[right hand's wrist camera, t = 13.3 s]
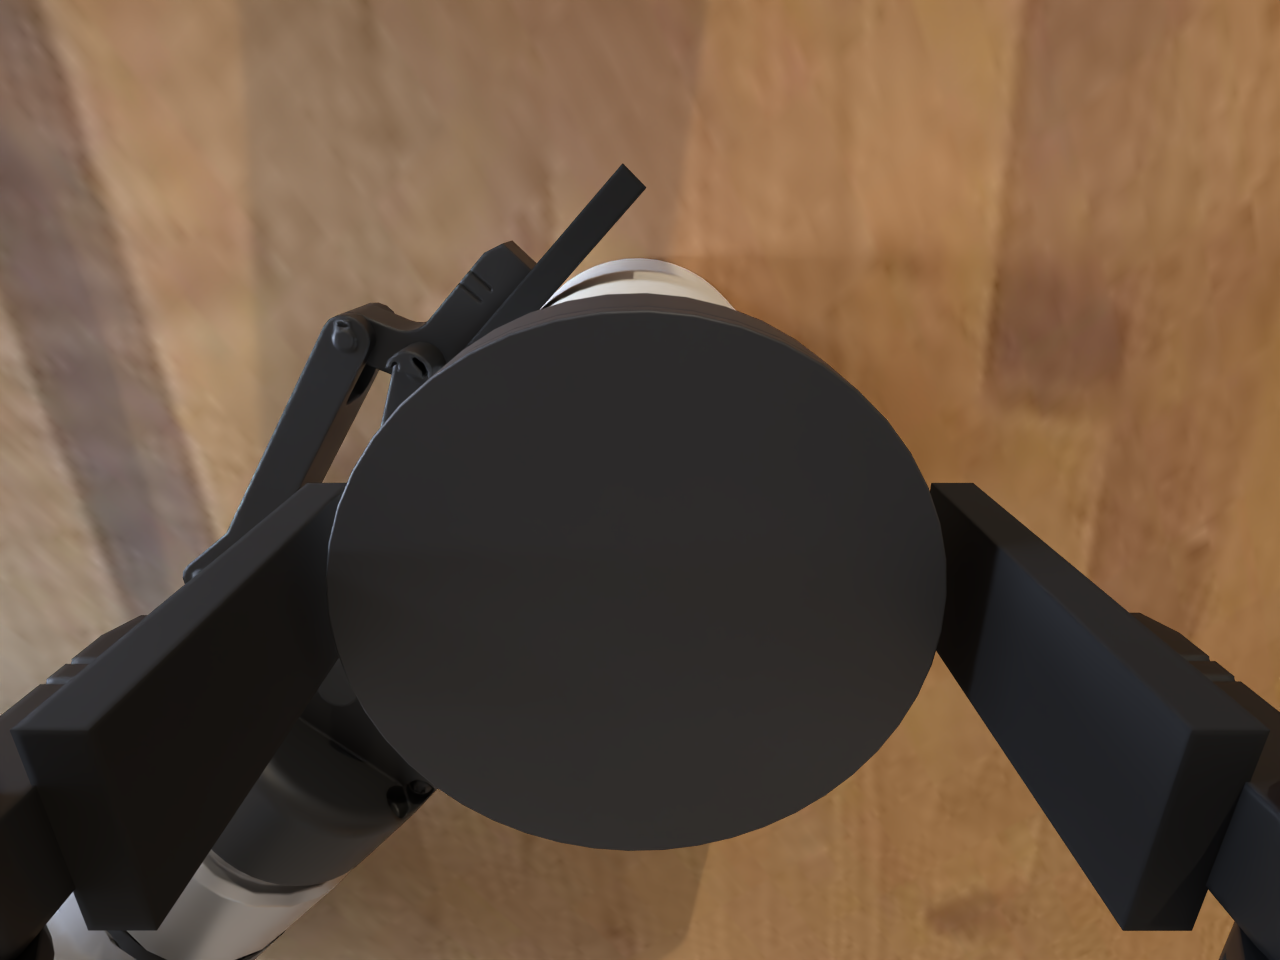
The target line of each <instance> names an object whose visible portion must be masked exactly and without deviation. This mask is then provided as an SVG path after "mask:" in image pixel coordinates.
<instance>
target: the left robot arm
mask: <svg viewBox="0 0 1280 960" xmlns="http://www.w3.org/2000/svg"><path fill="white" fill-rule="evenodd" d="M645 189H646V187H645V186H644V185H643V184H642V183H641V182H640V181H639V180H638V178H637V177H636V176H635V175H634V174H633V173H632V172H631V171H630V170H629V169H628V168H627V167H626V166H625V165H624V164H622V165H621V166H620V167H619V168H618V169H617V171H616V172H615V173H614V174H613V175H612V176H611V178H610V179H609V180H608V181H607V182H606V183H605V185H604V186H603V187H602V188H601V189H600V190H599V192H598V193H597V194H596V195H595V196H594V197H593V199H592V200H591V201H590V202H589V203H588V204H587V206H586V207H585V208H584V209H583V210H582V211H581V213H580V214H579V215H578V216H577V217H576V218H575V220H574V221H573V222H572V223H571V224H570V226H569V227H568V228H567V229H566V230H565V231H564V233H563V234H562V235H561V236H560V237H559V238H558V240H557V241H556V242H555V243H554V244H553V245H552V247H551V248H550V249H549V250H548V251H547V252H546V254H545V255H544V256H543V257H542V258H541V259H540V261H539V262H538V263H536V262H535V261H533V260H532V259H531V258H530V257H529V256H528V255H527V254H526V253H525V252H524V251H523V250H522V249H521V248H520V247H519V246H517V245H516V244H515V243H514V242H513V241H509V242H506V243H503V244H501V245H499V246H497V247H495V248H493V249H491V250H489V251H487V252H485V253H484V254H483V255H482V256H481V257H480V259H479V260H478V261H477V262H476V263H475V265H474V266H473V267H472V268H471V270H470V271H469V272H468V273H467V274H466V275H465V277H464V278H463V279H462V280H461V282H460V283H459V284H458V285H457V286H456V288H455V289H454V290H453V291H452V292H451V294H450V295H449V296H448V297H447V298H446V300H445V301H444V302H443V303H442V304H441V306H440V307H439V308H438V309H437V311H436V312H435V313H434V314H433V315H432V317H431V318H430V319H429V320H428V321H427V322H415V321H411V320H409V319H406V318H404V317H401V316H399V315H396V314H395V313H394V312H393V311H392V310H391V309H390V308H389V307H388V306H386V305H383V304H381V303H369V304H366V305H364V306H361V307H358V308H356V309H353V310H350V311H348V312H345V313H342V314H340V315H337V316H335V317H333V318H331V319H329V320H328V321H327V323H326V324H325V325H324V327H323V329H322V331H321V333H320V335H319V337H318V339H317V342H316V344H315V346H314V348H313V350H312V352H311V354H310V356H309V359H308V361H307V363H306V365H305V367H304V369H303V371H302V373H301V376H300V378H299V380H298V382H297V384H296V386H295V388H294V390H293V393H292V395H291V397H290V399H289V401H288V403H287V405H286V407H285V410H284V412H283V414H282V416H281V418H280V420H279V422H278V424H277V427H276V429H275V431H274V433H273V435H272V437H271V439H270V442H269V444H268V446H267V448H266V450H265V452H264V454H263V456H262V459H261V461H260V463H259V465H258V467H257V469H256V471H255V473H254V476H253V478H252V480H251V482H250V484H249V486H248V488H247V490H246V493H245V495H244V497H243V499H242V501H241V503H240V505H239V507H238V510H237V512H236V514H235V516H234V518H233V520H232V522H231V524H230V527H229V529H228V531H227V533H226V534H225V535H224V536H223V537H221V538H220V539H219V540H218V541H217V542H215V543H214V544H213V545H212V546H211V547H209V548H208V549H207V550H206V551H205V552H203V553H202V554H201V555H200V556H199V557H197V558H196V559H195V560H194V561H193V562H191V563H190V564H189V565H188V566H187V567H186V569H185V570H184V572H183V580H184V583H185V584H186V583H187V582H188V581H190V580H191V579H192V578H193V577H194V576H196V575H197V574H198V573H199V572H201V571H202V570H203V569H204V568H205V567H207V566H208V565H209V564H210V563H211V562H213V561H214V560H215V559H216V558H217V557H219V556H220V555H221V554H222V553H223V552H225V551H226V550H227V549H228V548H229V547H231V546H232V545H233V544H234V543H235V542H237V541H238V540H239V539H240V538H241V537H243V536H244V535H245V534H246V533H247V532H249V531H250V530H251V529H252V528H253V527H255V526H256V525H257V524H258V523H259V522H261V521H262V520H263V519H264V518H265V517H267V516H268V515H269V514H270V513H272V512H273V511H274V510H275V509H276V508H278V507H279V506H280V505H281V504H282V503H284V502H285V501H286V500H287V499H288V498H290V497H291V496H292V495H293V494H294V493H296V492H297V491H298V490H299V489H300V488H302V487H303V486H304V485H305V484H306V483H322V481H323V479H324V478H325V476H326V474H327V472H328V470H329V468H330V466H331V464H332V462H333V460H334V458H335V456H336V454H337V452H338V450H339V448H340V446H341V444H342V442H343V440H344V438H345V436H346V434H347V432H348V430H349V428H350V426H351V424H352V423H353V421H354V419H355V417H356V415H357V413H358V411H359V409H360V407H361V405H362V403H363V401H364V399H365V397H366V395H367V393H368V391H369V389H370V387H371V385H372V383H373V381H374V379H375V377H376V375H377V373H378V371H379V370H382V371H384V372H387V373H389V374H391V375H392V376H391V381H390V385H389V390H388V395H387V399H386V404H385V409H384V413H383V418H382V423H381V426H382V425H383V424H384V423H385V422H386V420H387V419H388V418H389V417H390V416H391V414H392V413H393V412H394V411H395V410H396V409H397V407H398V406H399V405H400V404H401V403H402V402H403V401H404V400H406V399H407V398H408V397H409V396H410V395H411V394H412V393H414V392H415V391H416V390H417V389H418V388H419V387H420V386H421V385H423V384H424V383H425V382H426V381H427V380H428V379H429V378H431V377H432V376H433V375H434V374H435V373H436V372H438V371H439V370H440V369H441V368H442V367H443V366H445V365H446V364H447V363H448V362H449V361H451V360H452V359H453V358H454V357H455V356H456V355H458V354H459V353H460V352H461V351H462V350H464V349H465V348H467V347H468V346H470V345H471V344H473V343H474V342H476V341H477V340H479V339H481V338H482V337H484V336H485V335H487V334H488V333H490V332H491V331H493V330H494V329H496V328H498V327H501V326H503V325H505V324H507V323H509V322H511V321H513V320H515V319H517V318H520V317H522V316H524V315H526V314H528V313H531V312H534V311H537V310H540V309H541V307H542V306H543V305H544V304H545V303H546V302H547V301H548V299H549V298H550V297H551V296H552V295H553V294H554V293H555V291H556V290H557V289H558V288H559V287H560V286H561V285H562V283H563V282H564V281H565V280H566V279H567V278H568V277H569V276H570V274H571V273H572V272H573V271H574V270H575V269H576V268H577V266H578V265H579V264H580V263H581V262H582V261H583V260H584V258H585V257H586V256H587V255H588V254H589V253H590V252H591V250H592V249H593V248H594V247H595V246H596V245H597V244H598V242H599V241H600V240H601V239H602V238H603V237H604V236H605V234H606V233H607V232H608V231H609V230H610V229H611V228H612V226H613V225H614V224H615V223H616V222H617V221H618V220H619V219H620V217H621V216H622V215H623V214H624V213H625V212H626V211H627V209H628V208H629V207H630V206H631V205H632V204H633V203H634V201H635V200H636V199H637V198H638V197H639V196H640V195H641V193H642V192H643V191H644V190H645ZM380 428H381V427H380ZM437 789H438V788H437V787H435V786H434V785H433V784H432V783H430V782H429V781H428V780H427V779H426V778H424V777H423V776H422V775H421V774H420V773H419V772H417V771H416V770H415V769H414V768H413V767H411V766H410V765H409V764H408V763H407V762H406V761H405V760H404V759H403V758H402V757H401V756H400V755H399V754H398V752H397V751H396V750H395V749H394V748H393V747H392V746H391V745H390V744H389V743H388V742H387V741H386V740H385V739H384V737H383V736H382V734H381V733H380V732H379V730H378V729H377V728H376V726H375V725H374V723H373V722H372V721H371V719H370V718H369V717H368V715H367V714H366V713H365V711H364V709H363V707H362V706H361V704H360V702H359V700H358V698H357V696H356V695H355V693H354V691H353V689H352V687H351V685H350V684H349V682H348V679H347V677H346V674H345V671H344V669H343V666H342V664H341V661H340V658H338V660H337V661H336V663H335V664H334V666H333V667H332V669H331V670H330V672H329V673H328V675H327V676H326V678H325V679H324V681H323V682H322V684H321V685H320V687H319V688H318V690H317V691H316V693H315V694H314V696H313V697H312V699H311V700H310V702H309V703H308V705H307V706H306V708H305V709H304V711H303V712H302V714H301V715H300V717H299V718H298V720H297V721H296V723H295V724H294V726H293V727H292V729H291V730H290V732H289V733H288V735H287V736H286V738H285V739H284V741H283V742H282V744H281V745H280V747H279V748H278V750H277V751H276V753H275V754H274V756H273V757H272V759H271V760H270V762H269V763H268V765H267V766H266V768H265V769H264V771H263V772H262V774H261V775H260V777H259V778H258V780H257V781H256V783H255V784H254V786H253V787H252V789H251V790H250V792H249V793H248V795H247V796H246V798H245V799H244V801H243V802H242V804H241V805H240V807H239V808H238V810H237V811H236V813H235V814H234V816H233V817H232V819H231V820H230V822H229V823H228V825H227V826H226V828H225V829H224V831H223V832H222V834H221V835H220V837H219V838H218V840H217V841H216V843H215V844H214V846H213V847H212V849H211V850H210V852H209V853H208V855H207V856H206V858H205V859H204V861H203V862H202V864H201V865H200V867H199V868H198V870H197V871H196V873H195V874H194V876H193V877H192V879H191V880H190V882H189V883H188V885H187V886H186V888H185V889H184V891H183V892H182V894H181V895H180V897H179V898H178V900H177V901H176V903H175V904H174V906H173V907H172V909H171V910H170V912H169V913H168V915H167V916H166V918H165V919H164V921H163V922H162V924H161V925H160V927H159V928H158V930H157V931H88V929H87V926H86V924H85V921H84V919H83V916H82V914H81V911H80V909H79V906H78V903H77V901H76V898H75V896H74V893H73V892H72V894H71V895H70V896H69V897H68V898H67V900H66V901H65V902H64V903H63V904H62V906H61V907H60V908H59V909H58V910H57V912H56V913H55V914H54V915H53V916H52V918H51V919H50V920H49V921H48V923H47V924H46V925H47V927H48V929H49V932H50V934H51V936H52V941H53V946H54V952H55V955H54V960H255V959H256V958H257V957H258V956H259V955H260V954H261V953H262V952H263V951H264V950H265V949H266V948H267V947H268V946H269V945H270V944H271V943H273V942H274V941H275V940H276V939H277V938H278V937H279V936H281V935H282V934H283V933H284V932H285V930H286V929H287V928H288V927H290V926H291V925H292V924H293V923H294V922H295V921H296V920H298V919H299V918H300V917H301V916H302V915H303V914H305V913H306V912H307V911H308V910H309V909H310V908H311V907H313V906H314V905H315V904H316V903H317V902H318V901H319V900H321V899H322V898H323V897H324V896H325V895H326V894H327V893H329V892H330V891H331V890H332V889H333V888H334V887H335V886H337V885H338V884H339V883H340V882H341V880H342V879H343V878H344V877H345V876H346V875H347V874H348V873H349V872H350V871H351V870H352V869H353V868H354V867H356V866H357V865H358V864H359V863H360V862H361V861H363V860H364V859H365V858H366V857H367V856H368V855H369V854H370V853H371V852H372V851H374V850H375V849H376V848H377V847H378V846H379V845H380V844H381V843H382V842H383V841H384V840H386V839H387V838H388V837H389V836H390V835H391V834H392V833H393V832H394V831H395V830H396V829H398V828H399V827H400V826H401V825H402V824H403V823H404V822H405V821H406V820H407V819H408V818H410V817H411V816H412V815H413V814H414V813H415V812H416V811H417V810H418V809H419V808H420V807H421V806H422V805H423V803H424V802H425V801H426V800H427V799H428V798H429V797H430V796H431V795H432V794H433V793H434V791H435V790H437Z"/></svg>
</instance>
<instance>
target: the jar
mask: <svg viewBox="0 0 1280 960" xmlns="http://www.w3.org/2000/svg"><path fill="white" fill-rule="evenodd" d="M632 293H652V294H662V295H671V296H681V297H689V298H693V299H697V300H701V301H705V302H709V303H714V304H718V305H722V306H726V307H728V308H731V309H733V310H735V309H734V308H733V307H732V305H731V304H730V303H729V302H728V301H727V300H726V299H725V298H724V297H723V296H722V295H721V294H720V293H719V292H718V291H717V290H716V289H715V288H714V287H713V286H712V285H711V284H709V283H708V282H707V281H705V280H704V279H703V278H701V277H700V276H698V275H696V274H695V273H693V272H691V271H689V270H687V269H685V268H683V267H680V266H677V265H675V264H672V263H668V262H664V261H660V260H654V259H644V258H632V259H621V260H615V261H610V262H607V263H603V264H600V265H597V266H594V267H592V268H590V269H588V270H586V271H584V272H582V273H580V274H578V275H577V276H575V277H574V278H572V279H571V280H569V281H568V282H567V283H565V284H564V285H563V286H562V287H561V288H560V289H559V290H557V291H556V292H555V293H554V295H553V296H552V297H551V298H550V299H549V300H548V301H547V302H546V303H545V304H544V305H543V307H542V308H541V309H543V308H547V307H550V306H553V305H556V304H559V303H562V302H566V301H570V300H576V299H582V298H588V297H594V296H600V295H606V294H632Z"/></svg>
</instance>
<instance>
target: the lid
mask: <svg viewBox="0 0 1280 960" xmlns="http://www.w3.org/2000/svg"><path fill="white" fill-rule="evenodd" d="M326 588H327V602H328V615H329V620H330V624H331V629H332V633H333V638H334V642H335V647H336V650H337V653H338V656H339V658H340V661H341V664H342V666H343V669H344V671H345V674H346V677H347V679H348V682H349V684H350V685H351V687H352V689H353V691H354V693H355V695H356V696H357V698H358V700H359V702H360V704H361V706H362V707H363V709H364V711H365V713H366V714H367V715H368V717H369V718H370V719H371V721H372V722H373V723H374V725H375V726H376V728H377V729H378V730H379V732H380V733H381V734H382V736H383V737H384V739H385V740H386V741H387V742H388V743H389V744H390V745H391V746H392V747H393V748H394V749H395V750H396V751H397V752H398V754H399V755H400V756H401V757H402V758H403V759H404V760H405V761H406V762H407V763H408V764H409V765H410V766H411V767H413V768H414V769H415V770H416V771H417V772H419V773H420V774H421V775H422V776H423V777H424V778H426V779H427V780H428V781H429V782H430V783H432V784H433V785H434V786H435V787H437V788H438V789H440V790H441V791H443V792H445V793H446V794H448V795H449V796H451V797H452V798H454V799H455V800H457V801H458V802H460V803H461V804H463V805H464V806H466V807H468V808H470V809H472V810H474V811H476V812H478V813H480V814H482V815H484V816H486V817H488V818H490V819H492V820H494V821H496V822H499V823H501V824H504V825H506V826H509V827H512V828H514V829H517V830H519V831H522V832H524V833H527V834H531V835H535V836H538V837H542V838H545V839H549V840H553V841H556V842H560V843H566V844H572V845H578V846H584V847H589V848H597V849H611V850H625V851H637V850H666V849H674V848H682V847H690V846H698V845H702V844H707V843H711V842H716V841H720V840H724V839H729V838H733V837H736V836H739V835H742V834H745V833H748V832H751V831H754V830H757V829H760V828H763V827H765V826H767V825H770V824H772V823H774V822H776V821H778V820H781V819H783V818H785V817H787V816H789V815H792V814H794V813H796V812H798V811H799V810H801V809H803V808H804V807H806V806H808V805H810V804H811V803H813V802H815V801H816V800H818V799H820V798H821V797H823V796H825V795H826V794H828V793H829V792H830V791H832V790H833V789H834V788H836V787H837V786H838V785H840V784H841V783H842V782H844V781H845V780H846V779H848V778H849V777H850V776H852V775H853V774H854V773H855V772H856V771H857V770H858V769H859V768H860V767H861V766H862V765H863V764H864V763H866V762H867V761H868V760H869V759H870V758H871V757H872V756H873V755H874V754H875V753H876V752H877V751H878V750H879V749H880V747H881V746H882V745H883V744H884V743H885V741H886V740H887V739H888V738H889V737H890V735H891V734H892V733H893V732H894V731H895V729H896V728H897V727H898V726H899V724H900V723H901V721H902V720H903V718H904V716H905V715H906V713H907V712H908V710H909V709H910V707H911V705H912V704H913V702H914V701H915V699H916V697H917V696H918V694H919V691H920V689H921V687H922V685H923V683H924V680H925V678H926V676H927V674H928V672H929V669H930V667H931V665H932V662H933V659H934V655H935V652H936V648H937V645H938V642H939V638H940V635H941V632H942V625H943V618H944V611H945V604H946V597H947V590H946V555H945V549H944V543H943V537H942V531H941V525H940V521H939V518H938V515H937V512H936V509H935V506H934V503H933V500H932V497H931V494H930V491H929V488H928V486H927V484H926V482H925V480H924V478H923V476H922V474H921V472H920V470H919V468H918V466H917V464H916V462H915V460H914V458H913V456H912V454H911V453H910V451H909V450H908V448H907V447H906V446H905V444H904V443H903V441H902V440H901V439H900V437H899V436H898V435H897V433H896V432H895V430H894V429H893V428H892V426H891V425H890V423H889V422H888V421H887V419H886V418H885V417H884V416H883V415H882V414H881V413H880V412H879V411H878V410H877V409H876V408H875V407H874V406H873V405H872V404H871V403H870V402H869V401H868V400H867V399H866V398H865V397H864V396H863V395H862V394H861V393H860V392H859V391H858V390H857V389H856V388H855V387H854V386H852V385H851V384H850V383H849V382H848V381H847V380H845V379H844V378H843V377H842V376H841V375H840V374H838V373H837V372H836V371H835V370H834V369H833V368H831V367H830V366H829V365H828V364H827V363H826V362H824V361H823V360H822V359H820V358H819V357H818V356H816V355H815V354H814V353H813V352H811V351H810V350H809V349H807V348H806V347H805V346H803V345H802V344H801V343H799V342H798V341H797V340H796V339H794V338H792V337H790V336H788V335H787V334H785V333H783V332H781V331H780V330H778V329H776V328H774V327H772V326H771V325H769V324H767V323H765V322H763V321H762V320H759V319H756V318H754V317H751V316H749V315H746V314H744V313H741V312H739V311H736V310H733V309H731V308H728V307H726V306H722V305H718V304H714V303H709V302H705V301H701V300H697V299H693V298H689V297H681V296H671V295H662V294H652V293H632V294H606V295H600V296H594V297H588V298H582V299H576V300H570V301H566V302H562V303H559V304H556V305H553V306H550V307H547V308H543V309H540V310H537V311H534V312H531V313H528V314H526V315H524V316H522V317H520V318H517V319H515V320H513V321H511V322H509V323H507V324H505V325H503V326H501V327H498V328H496V329H494V330H493V331H491V332H490V333H488V334H487V335H485V336H484V337H482V338H481V339H479V340H477V341H476V342H474V343H473V344H471V345H470V346H468V347H467V348H465V349H464V350H462V351H461V352H460V353H459V354H458V355H456V356H455V357H454V358H453V359H452V360H451V361H449V362H448V363H447V364H446V365H445V366H443V367H442V368H441V369H440V370H439V371H438V372H436V373H435V374H434V375H433V376H432V377H431V378H429V379H428V380H427V381H426V382H425V383H424V384H423V385H421V386H420V387H419V388H418V389H417V390H416V391H415V392H414V393H412V394H411V395H410V396H409V397H408V398H407V399H406V400H404V401H403V402H402V403H401V404H400V405H399V406H398V407H397V409H396V410H395V411H394V412H393V413H392V414H391V416H390V417H389V418H388V419H387V420H386V422H385V423H384V424H383V425H382V426H381V428H380V429H379V430H378V431H377V432H376V434H375V435H374V436H373V437H372V439H371V441H370V442H369V444H368V446H367V447H366V449H365V450H364V452H363V454H362V455H361V457H360V459H359V460H358V462H357V464H356V465H355V467H354V469H353V470H352V473H351V475H350V477H349V480H348V482H347V485H346V487H345V489H344V492H343V494H342V497H341V499H340V501H339V504H338V507H337V511H336V515H335V519H334V523H333V527H332V531H331V535H330V539H329V547H328V559H327V571H326Z"/></svg>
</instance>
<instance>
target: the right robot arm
mask: <svg viewBox="0 0 1280 960" xmlns="http://www.w3.org/2000/svg"><path fill="white" fill-rule="evenodd" d="M346 485H347V483H306V484H305V485H304V486H303V487H302V488H300V489H299V490H298V491H297V492H296V493H294V494H293V495H292V496H291V497H290V498H288V499H287V500H286V501H285V502H284V503H282V504H281V505H280V506H279V507H278V508H276V509H275V510H274V511H273V512H272V513H270V514H269V515H268V516H267V517H265V518H264V519H263V520H262V521H261V522H259V523H258V524H257V525H256V526H255V527H253V528H252V529H251V530H250V531H249V532H247V533H246V534H245V535H244V536H243V537H241V538H240V539H239V540H238V541H237V542H235V543H234V544H233V545H232V546H231V547H229V548H228V549H227V550H226V551H225V552H223V553H222V554H221V555H220V556H219V557H217V558H216V559H215V560H214V561H213V562H211V563H210V564H209V565H208V566H207V567H205V568H204V569H203V570H202V571H201V572H199V573H198V574H197V575H196V576H194V577H193V578H192V579H191V580H190V581H188V582H187V583H186V584H185V585H184V586H182V587H181V588H180V589H179V590H178V591H176V592H175V593H174V594H173V595H172V596H170V597H169V598H168V599H167V600H166V601H164V602H163V603H162V604H161V605H160V606H158V607H157V608H156V609H155V610H154V611H152V612H151V613H150V614H149V615H141V616H139V617H137V618H135V619H133V620H131V621H129V622H127V623H125V624H123V625H121V626H119V627H117V628H115V629H113V630H111V631H109V632H107V633H105V634H103V635H101V636H100V637H99V638H98V639H96V640H95V641H94V642H93V643H91V644H90V645H89V646H88V647H86V648H85V649H84V650H83V651H81V652H80V653H79V654H78V655H76V656H75V657H74V658H73V659H72V662H71V664H65V665H64V666H63V667H61V668H60V669H59V670H58V671H56V672H55V673H54V674H53V675H51V676H50V677H49V678H47V682H46V684H40V685H39V686H37V687H36V688H35V689H34V690H32V691H31V692H30V693H29V694H27V695H26V696H25V697H24V698H22V699H21V700H20V701H19V702H17V703H16V704H15V705H14V706H12V707H11V708H10V709H9V710H7V711H6V712H5V713H4V714H2V715H1V716H0V960H54V955H55V952H54V946H53V941H52V936H51V934H50V932H49V929H48V927H47V925H46V924H47V923H48V921H49V920H50V919H51V918H52V916H53V915H54V914H55V913H56V912H57V910H58V909H59V908H60V907H61V906H62V904H63V903H64V902H65V901H66V900H67V898H68V897H69V896H70V895H71V894H72V892H73V893H74V896H75V898H76V901H77V903H78V906H79V909H80V911H81V914H82V916H83V919H84V921H85V924H86V926H87V929H88V931H157V930H158V928H159V927H160V925H161V924H162V922H163V921H164V919H165V918H166V916H167V915H168V913H169V912H170V910H171V909H172V907H173V906H174V904H175V903H176V901H177V900H178V898H179V897H180V895H181V894H182V892H183V891H184V889H185V888H186V886H187V885H188V883H189V882H190V880H191V879H192V877H193V876H194V874H195V873H196V871H197V870H198V868H199V867H200V865H201V864H202V862H203V861H204V859H205V858H206V856H207V855H208V853H209V852H210V850H211V849H212V847H213V846H214V844H215V843H216V841H217V840H218V838H219V837H220V835H221V834H222V832H223V831H224V829H225V828H226V826H227V825H228V823H229V822H230V820H231V819H232V817H233V816H234V814H235V813H236V811H237V810H238V808H239V807H240V805H241V804H242V802H243V801H244V799H245V798H246V796H247V795H248V793H249V792H250V790H251V789H252V787H253V786H254V784H255V783H256V781H257V780H258V778H259V777H260V775H261V774H262V772H263V771H264V769H265V768H266V766H267V765H268V763H269V762H270V760H271V759H272V757H273V756H274V754H275V753H276V751H277V750H278V748H279V747H280V745H281V744H282V742H283V741H284V739H285V738H286V736H287V735H288V733H289V732H290V730H291V729H292V727H293V726H294V724H295V723H296V721H297V720H298V718H299V717H300V715H301V714H302V712H303V711H304V709H305V708H306V706H307V705H308V703H309V702H310V700H311V699H312V697H313V696H314V694H315V693H316V691H317V690H318V688H319V687H320V685H321V684H322V682H323V681H324V679H325V678H326V676H327V675H328V673H329V672H330V670H331V669H332V667H333V666H334V664H335V663H336V661H337V660H338V658H339V656H338V653H337V650H336V647H335V642H334V638H333V633H332V629H331V624H330V620H329V615H328V602H327V588H326V571H327V559H328V547H329V539H330V535H331V531H332V527H333V523H334V519H335V515H336V511H337V507H338V504H339V501H340V499H341V497H342V494H343V492H344V489H345V487H346ZM930 494H931V497H932V500H933V503H934V506H935V509H936V512H937V515H938V518H939V521H940V525H941V531H942V537H943V543H944V549H945V555H946V590H947V597H946V604H945V611H944V618H943V625H942V632H941V635H940V638H939V642H938V645H937V648H936V651H937V652H938V654H939V655H940V657H941V658H942V660H943V661H944V663H945V664H946V666H947V667H948V669H949V670H950V672H951V673H952V675H953V676H954V678H955V679H956V681H957V682H958V684H959V685H960V687H961V688H962V690H963V691H964V693H965V694H966V696H967V697H968V699H969V700H970V702H971V703H972V705H973V706H974V708H975V709H976V711H977V712H978V714H979V715H980V717H981V718H982V720H983V721H984V723H985V724H986V726H987V727H988V729H989V730H990V732H991V733H992V735H993V736H994V738H995V739H996V741H997V742H998V744H999V745H1000V747H1001V748H1002V750H1003V751H1004V753H1005V754H1006V756H1007V757H1008V759H1009V760H1010V762H1011V763H1012V765H1013V766H1014V768H1015V769H1016V771H1017V772H1018V774H1019V775H1020V777H1021V778H1022V780H1023V781H1024V783H1025V784H1026V786H1027V787H1028V789H1029V790H1030V792H1031V793H1032V795H1033V796H1034V798H1035V799H1036V801H1037V802H1038V804H1039V805H1040V807H1041V808H1042V810H1043V811H1044V813H1045V814H1046V816H1047V817H1048V819H1049V820H1050V822H1051V823H1052V825H1053V826H1054V828H1055V829H1056V831H1057V832H1058V834H1059V835H1060V837H1061V838H1062V840H1063V841H1064V843H1065V844H1066V846H1067V847H1068V849H1069V850H1070V852H1071V853H1072V855H1073V856H1074V858H1075V859H1076V861H1077V862H1078V864H1079V865H1080V867H1081V868H1082V870H1083V871H1084V873H1085V874H1086V876H1087V877H1088V879H1089V880H1090V882H1091V883H1092V885H1093V886H1094V888H1095V889H1096V891H1097V892H1098V894H1099V895H1100V897H1101V898H1102V900H1103V901H1104V903H1105V904H1106V906H1107V907H1108V909H1109V910H1110V912H1111V913H1112V915H1113V916H1114V918H1115V919H1116V921H1117V922H1118V924H1119V925H1120V927H1121V928H1122V930H1123V931H1192V929H1193V926H1194V924H1195V921H1196V919H1197V916H1198V914H1199V911H1200V909H1201V906H1202V903H1203V901H1204V898H1205V896H1206V893H1207V891H1208V889H1209V891H1210V892H1211V893H1212V894H1213V895H1214V897H1215V898H1216V899H1217V900H1218V901H1219V903H1220V904H1221V905H1222V906H1223V907H1224V909H1225V910H1226V911H1227V912H1228V913H1229V915H1230V916H1231V917H1232V918H1233V919H1234V921H1235V922H1234V925H1233V927H1232V929H1231V932H1230V934H1229V936H1228V939H1227V941H1226V944H1225V946H1224V948H1223V951H1222V953H1221V956H1220V958H1219V960H1280V712H1279V711H1277V710H1276V709H1275V708H1274V707H1272V706H1271V705H1270V704H1269V703H1267V702H1266V701H1265V700H1264V699H1262V698H1261V697H1260V696H1258V695H1257V694H1256V693H1255V692H1253V691H1252V690H1251V689H1250V688H1248V687H1247V686H1246V685H1245V684H1243V683H1242V682H1236V681H1235V680H1234V676H1233V675H1232V674H1231V673H1229V672H1228V671H1227V670H1226V669H1224V668H1223V667H1222V666H1221V665H1219V664H1218V663H1217V662H1215V661H1210V660H1209V656H1208V655H1207V654H1205V653H1204V652H1203V651H1202V650H1200V649H1199V648H1198V647H1197V646H1195V645H1194V644H1193V643H1191V642H1190V641H1189V640H1188V639H1186V638H1185V637H1184V636H1183V635H1181V634H1180V633H1179V632H1177V631H1175V630H1173V629H1171V628H1169V627H1167V626H1165V625H1163V624H1161V623H1159V622H1157V621H1155V620H1153V619H1151V618H1149V617H1147V616H1145V615H1143V614H1141V613H1129V612H1128V611H1126V610H1125V609H1124V608H1123V607H1122V606H1120V605H1119V604H1118V603H1117V602H1116V601H1114V600H1113V599H1112V598H1111V597H1110V596H1108V595H1107V594H1106V593H1105V592H1104V591H1102V590H1101V589H1100V588H1099V587H1098V586H1096V585H1095V584H1094V583H1093V582H1092V581H1090V580H1089V579H1088V578H1087V577H1086V576H1084V575H1083V574H1082V573H1081V572H1079V571H1078V570H1077V569H1076V568H1075V567H1073V566H1072V565H1071V564H1070V563H1069V562H1067V561H1066V560H1065V559H1064V558H1063V557H1061V556H1060V555H1059V554H1058V553H1057V552H1055V551H1054V550H1053V549H1052V548H1051V547H1049V546H1048V545H1047V544H1046V543H1045V542H1043V541H1042V540H1041V539H1040V538H1039V537H1037V536H1036V535H1035V534H1034V533H1033V532H1031V531H1030V530H1029V529H1028V528H1027V527H1025V526H1024V525H1023V524H1022V523H1021V522H1019V521H1018V520H1017V519H1016V518H1015V517H1013V516H1012V515H1011V514H1010V513H1008V512H1007V511H1006V510H1005V509H1004V508H1002V507H1001V506H1000V505H999V504H998V503H996V502H995V501H994V500H993V499H992V498H990V497H989V496H988V495H987V494H986V493H984V492H983V491H982V490H981V489H980V488H978V487H977V486H976V485H975V484H974V483H931V489H930Z"/></svg>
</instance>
